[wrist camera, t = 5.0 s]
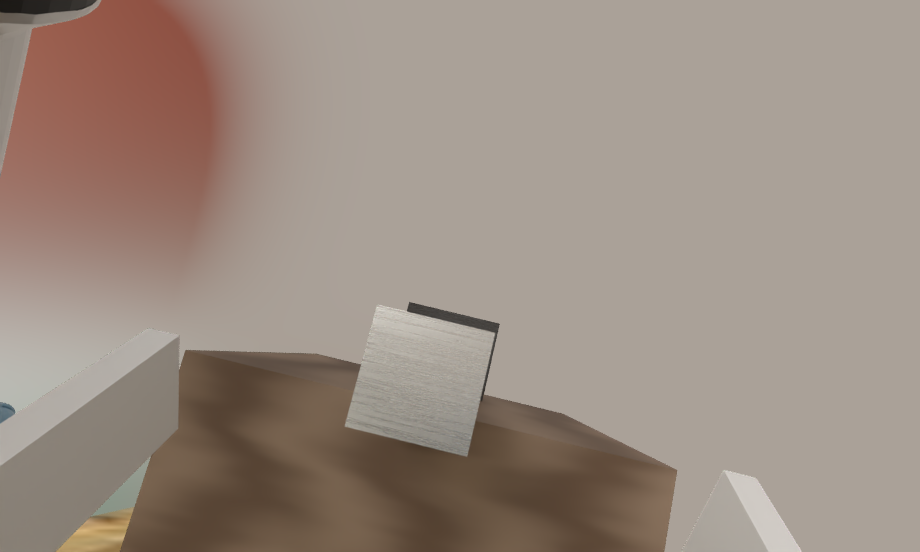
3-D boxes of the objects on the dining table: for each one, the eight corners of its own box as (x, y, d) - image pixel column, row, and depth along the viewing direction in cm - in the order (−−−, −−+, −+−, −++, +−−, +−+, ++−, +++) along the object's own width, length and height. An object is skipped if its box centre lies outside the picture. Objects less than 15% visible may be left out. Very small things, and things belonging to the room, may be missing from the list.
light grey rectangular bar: (283, 411, 12) (340, 214, 13) (399, 375, 38) (416, 310, 38) (529, 471, 12) (570, 269, 13) (477, 394, 37) (492, 329, 38)
